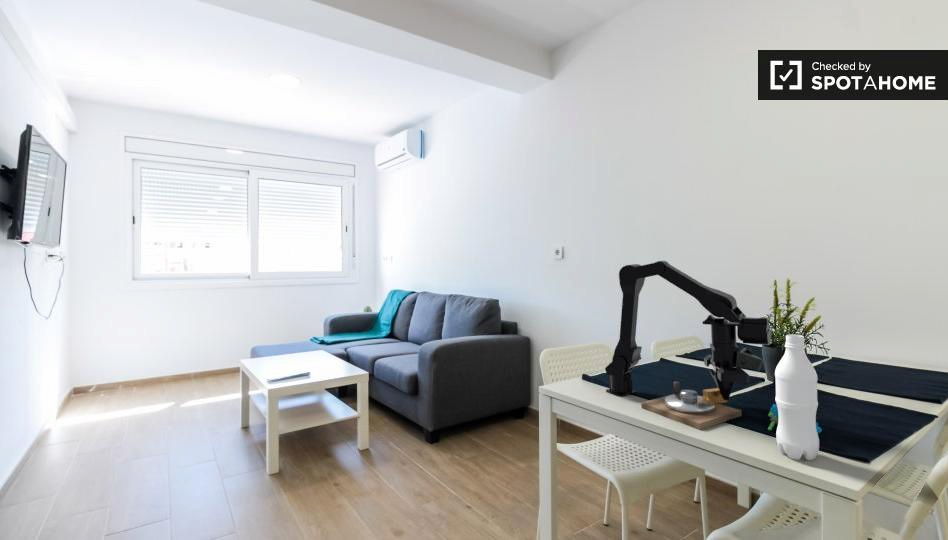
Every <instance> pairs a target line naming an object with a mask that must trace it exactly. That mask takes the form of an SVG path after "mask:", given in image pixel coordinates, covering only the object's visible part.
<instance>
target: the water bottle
mask: <svg viewBox="0 0 948 540" xmlns="http://www.w3.org/2000/svg"><path fill="white" fill-rule="evenodd" d="M804 339H805V337H804V335H801V334H791V333H790V334H786V335H785V343H784V347H785V351H784V354H783V356H781V359H780V360H779V362H778V363H777V365H776V368H775V370H774V376H775V397H774V398H775V403H776V405H777V407H778V416H779V420H778V424H777V427H776V433H775V436H776V437H775V438H776V440H775V441H776V445H777V448H778V450H779V451H780V453H782V454H783V455H787V457H789V458H790V459H792V460H796V461H797V460H800V459H801V458H802V456H803V457H804V459H805V460H806V461H813V460H815V458H816V457H817V456H818V454H819V450H820V438H819V433H818V434H817V430H816V422H817V421H816V419H817V416H816V415H817V410H818V406H819V401H818V378H819V377H818V374H817V372H816V371H817V370H815V367H814V366H813V364H812V363H811V361H810V360H809V358H808V357H807V354H806V352H805V349H806V347H807V346H805V345H806V343H805V340H804Z"/></svg>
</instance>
